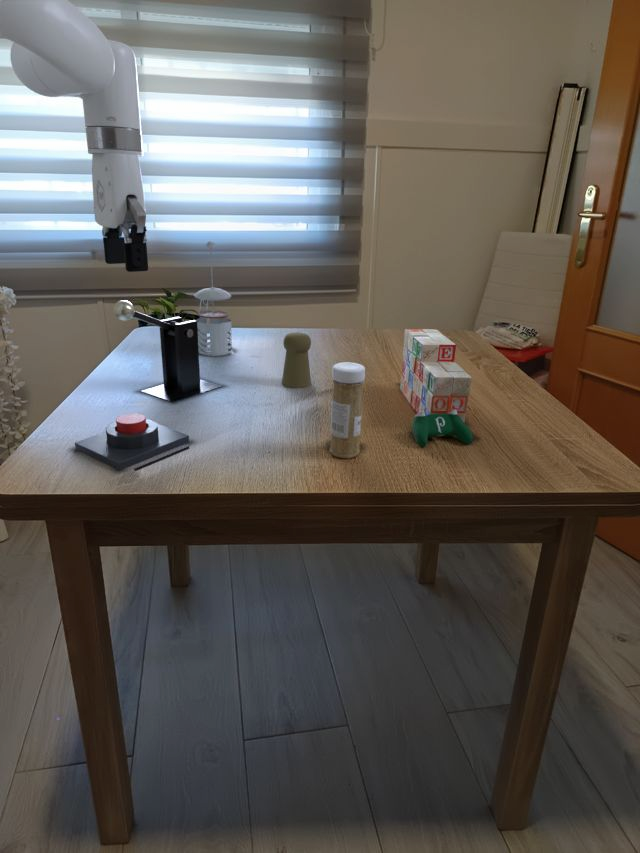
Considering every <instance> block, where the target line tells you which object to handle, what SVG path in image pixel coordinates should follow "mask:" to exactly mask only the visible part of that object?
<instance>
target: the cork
mask: <svg viewBox="0 0 640 853" xmlns="http://www.w3.org/2000/svg"><path fill="white" fill-rule="evenodd" d="M282 345H283V348H284V349H285V357H284V363H283V371H282V377H281V386H283V387H284V388H287V389H293V390H296V389H297V390H299V389H300V390H301V389H307V388H310V387H311V386H312V378H311V370H310V359H309V350H310V349H311V345H312V339H311V337H310V335H308V334H307V333H305V332H299V331H298V332H297V331H296V332H295V331H293V332H289V333H287V334H285V336H284V338H283V343H282Z"/></svg>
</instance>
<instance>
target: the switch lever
mask: <svg viewBox="0 0 640 853" xmlns="http://www.w3.org/2000/svg"><path fill="white" fill-rule="evenodd" d="M113 314H114V316H115V317H116V318H117V319H118V320H119V321H125V322H126V321H129V320H131V319H132V318H133V319H137V320H138V321H142V322H145V323H148V324H150V325H153V326H156V327H159V328H160V327H161V328H164V329H167V330H168V333H167V334H168V335H171V336H174V337H175V327H174V324H177V322H173V321H171V322H170V324H168V323H166V322H163V321H160V320H161V319H158V318H155V317H153V316H150V315H147V314H144V313H142V312H139V311H136V310H135V306H134V305H133V303H131V301H128V300H126V299H125V300H122V299H121V300H118V301H117V302H116V303H115V304H114V306H113Z"/></svg>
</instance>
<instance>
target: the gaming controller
mask: <svg viewBox="0 0 640 853" xmlns="http://www.w3.org/2000/svg"><path fill="white" fill-rule="evenodd" d="M412 433H413V436H414V439H415V442H416V443H417V445H418V446H419V447H420V448H424V447H426V446H427V444H428V439H432V438H434V437H444V438H449V437H451V436H454V437H455V438H456V439H457V440H459V442H461V443H463V444H465V445H470V444H473V443H474V435H473V432H472V430H471V429H470V427H469V426H468V424H466V422H463V421H462V419H461V418H460V416H459V415H458V414H457V410H452V411H451V412H450V413H448V414H431V415H425V412H424V411H421V412H419V413H418V414H417V413H416V414H415V415H414V416H413V420H412Z"/></svg>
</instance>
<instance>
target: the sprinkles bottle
mask: <svg viewBox="0 0 640 853" xmlns="http://www.w3.org/2000/svg"><path fill="white" fill-rule="evenodd" d="M331 378H332V399H331V416H330V417H331V418H330V447H329V453H330V454H331V455H332V456H334V457H336V458H340V459H352V458H355V457H357V456H358V455H359V454H360V453H361V449H360V443H361V442H360V440H361V439H360V438H361V433H362V432H361V428H362V413H363V412H362V411H363V410H362V409H363V402H362V401H363V386H364V382H365V379H366V367H365V366H364V365H363V364H361V363H357V362H347V361H346V362H337V363H335V364H334V365H333V366H332V376H331Z"/></svg>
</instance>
